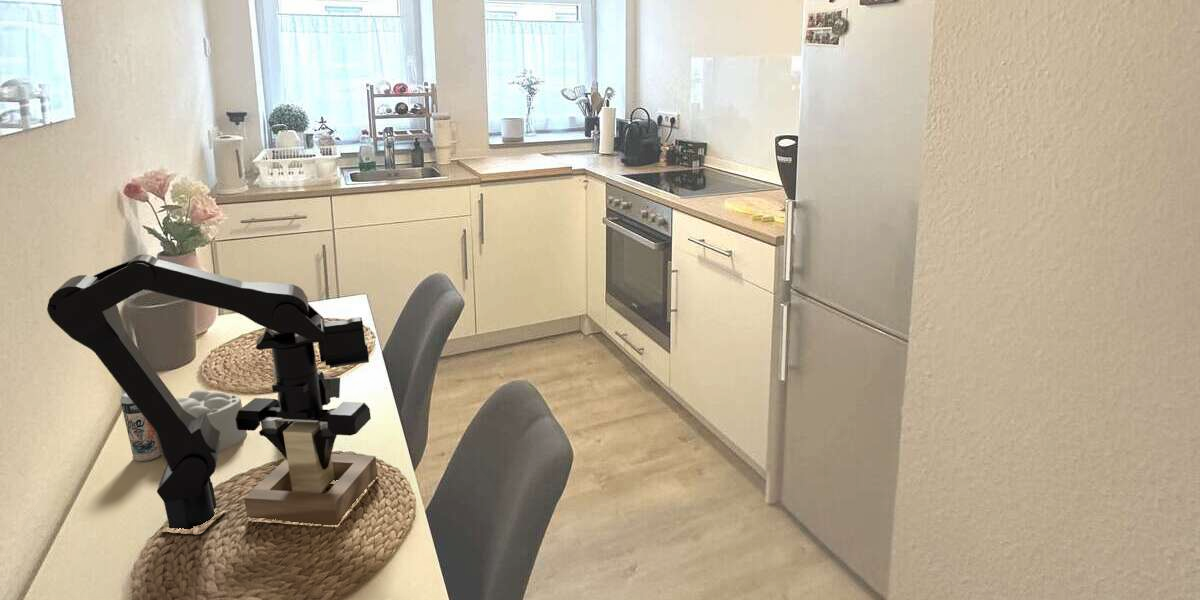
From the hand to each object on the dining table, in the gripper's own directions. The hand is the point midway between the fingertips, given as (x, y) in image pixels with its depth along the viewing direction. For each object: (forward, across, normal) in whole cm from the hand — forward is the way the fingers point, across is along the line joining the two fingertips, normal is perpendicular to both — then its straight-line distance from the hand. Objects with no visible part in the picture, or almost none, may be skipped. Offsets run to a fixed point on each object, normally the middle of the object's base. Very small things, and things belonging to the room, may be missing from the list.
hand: (311, 467), depth 121 cm
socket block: (+6, 0, 0) cm, 6 cm away
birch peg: (+3, 0, 0) cm, 3 cm away
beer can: (+6, +36, -10) cm, 38 cm away
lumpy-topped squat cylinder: (+6, +29, -16) cm, 34 cm away
